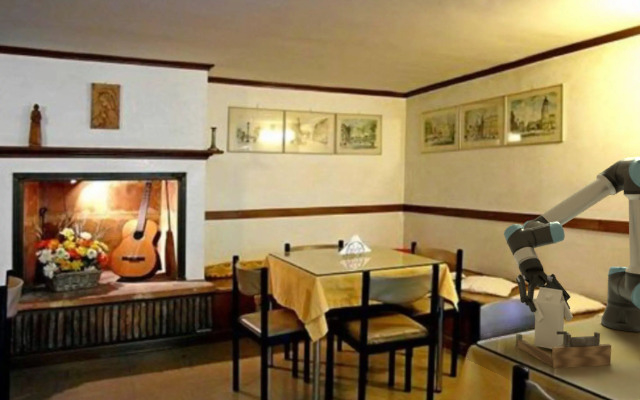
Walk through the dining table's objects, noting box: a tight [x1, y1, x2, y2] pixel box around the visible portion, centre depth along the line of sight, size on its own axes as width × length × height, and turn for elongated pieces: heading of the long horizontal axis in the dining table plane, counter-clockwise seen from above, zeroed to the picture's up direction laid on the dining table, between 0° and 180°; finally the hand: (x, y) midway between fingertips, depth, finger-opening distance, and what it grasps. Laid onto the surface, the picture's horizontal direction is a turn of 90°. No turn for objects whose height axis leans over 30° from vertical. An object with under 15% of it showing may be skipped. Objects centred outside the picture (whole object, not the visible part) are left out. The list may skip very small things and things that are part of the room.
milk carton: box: [533, 287, 565, 350], centre depth 168 cm, size 7×7×19 cm
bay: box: [515, 330, 612, 369], centre depth 162 cm, size 19×21×11 cm
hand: (555, 319), depth 165 cm, fingers closed on milk carton, 10 cm apart
